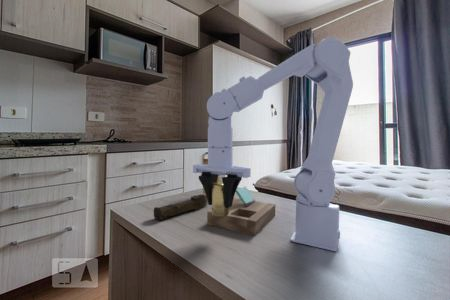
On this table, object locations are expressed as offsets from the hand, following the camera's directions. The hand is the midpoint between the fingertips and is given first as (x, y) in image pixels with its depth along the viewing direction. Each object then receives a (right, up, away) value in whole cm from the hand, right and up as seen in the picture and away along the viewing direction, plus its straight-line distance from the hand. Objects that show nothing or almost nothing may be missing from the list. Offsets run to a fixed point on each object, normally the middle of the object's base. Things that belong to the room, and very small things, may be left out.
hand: (220, 205), depth 52 cm
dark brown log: (-12, -7, +18) cm, 23 cm away
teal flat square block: (+7, -1, +16) cm, 17 cm away
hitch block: (+6, -7, +12) cm, 15 cm away
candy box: (-3, -6, +37) cm, 38 cm away
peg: (0, -2, 0) cm, 2 cm away
